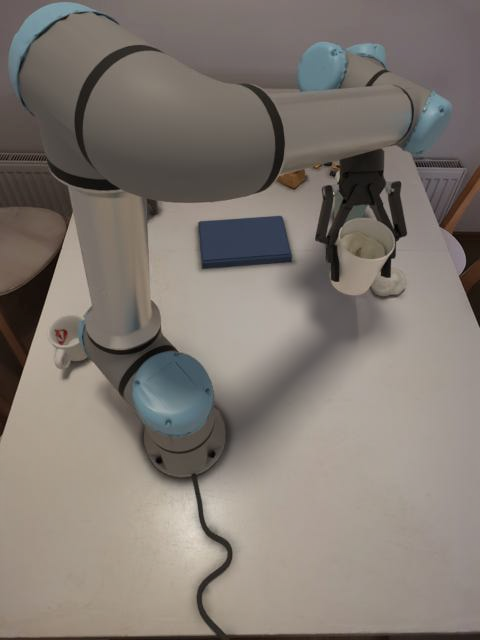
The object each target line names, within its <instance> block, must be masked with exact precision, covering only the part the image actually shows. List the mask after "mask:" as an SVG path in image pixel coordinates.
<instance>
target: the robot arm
mask: <svg viewBox="0 0 480 640" xmlns="http://www.w3.org/2000/svg"><path fill="white" fill-rule="evenodd" d="M7 61H8V62H7V64H8V65H7V69H8V74H9V75H8V77H9V80H10V83H11V87H12V90H13V91H14V93H15V95H16V96H17V99H18V100H19V103H20V104H21V106H22V107H23V108H24V110H25V111H26V112H27V113H29V114H30V115H31V116H32V117H33V118H35V121H36V122H37V125H38V130H39V134H40V138H41V143H42V146H43V152H44V154H45V160H46V163H47V167H48V170H49V172H50V174H51V175H52V176H53V177H54V178H55V179H56V180H57V181H59V182H60V183H62V185H65V186H67V188H68V193H69V199H70V204H71V209H72V213H73V219H74V223H75V228H76V234H77V238H78V243H79V249H80V253H81V257H82V262H83V263H82V264H83V268H84V273H85V277H86V283H87V288H88V293H89V298H90V303H91V306H90V307H89V308H88V309H87V310H86V311H85V312H84V314H83V317H84V320H82V321H81V322H80V324H79V328H78V339H79V342H80V344H81V346H82V348H83V350H84V352H85V354H86V355H87V358H88V359H89V360H90V361H91V362H92V363H93V364H94V365H95V366H96V368H97V369H98V370H99V372H101V373H102V374H103V376H104V378H106V380H108V382H109V383H110V384H111V385H112V387H113V388H114V389H115V391H117V393H118V394H119V395H120V396H121V398H122V399H123V400H124V401H125V402H126V404H127V405H128V406H129V408H131V410H132V411H133V412H134V414H135V415H136V416H137V417H138V419H139V420H140V421H141V423H142V424H143V425H144V430H143V445H144V450H145V452H146V454H147V456H148V458H149V460H150V461H151V463H152V464H153V466H155V467H156V468H157V469H158V470H159V471H160V472H162V473H164V474H165V475H168V476H171V477H174V478H180V479H181V478H182V479H186V478H191V479H192V485H193V490H194V494H195V499H196V504H197V512H198V513H197V515H198V520H199V523H200V527H201V528H202V530H203V532H204V533H205V534H206V535H207V536H208V537H209V538H210V539H212V540H214V541H216V542H218V543H220V544H222V545H223V546H224V547H225V549H226V551H227V553H226V554H227V555H226V556H227V557H226V558H225V561H224V562H223V564H222V565H220V566H219V567H218V568H217V569H215V570H213V572H211V573H210V574H209V575H207V576H206V577H205V578H204V579H202V580H201V582H200V584H199V586H198V588H197V591H196V605H197V609H198V612H199V614H200V616H201V618H202V620H203V621H204V622H205V623H206V624H207V626H208V627H209V628H210V629H211V630H212V631H213V632H214V633H215V634H216V635H217V636H218V637H219V638H220V639H221V640H231V638H230V637H229V635H227V634H226V632H224V631H223V630H222V629H221V628H220V626H219V625H218V624H217V623H215V621H214V620H213V619H211V617H210V616H209V614H208V613H207V611H206V610H205V607H204V605H203V592H204V589H205V587H206V586H207V585H208V584H209V583H210V582H212V581H213V580H214V579H215V578H217V577H218V576H219V575H221V574H222V573H223V572H224V571H226V569H228V567H229V566H230V564H231V563H232V559H233V548H232V545H231V544H230V542H229V541H228V540H227V539H226V538H224V537H222V536H220V535H218V534H216V533H215V532H213V531H212V530H211V529H210V528H209V526H208V525H207V523H206V520H205V515H204V508H203V507H204V506H203V500H202V495H201V491H200V487H199V482H198V478H197V477H198V476H199V475H201V474H203V473H205V472H206V471H208V470H209V469H211V468H212V467H213V466H214V465H215V464H216V463H217V461H218V460H219V459H220V457H221V455H222V453H223V451H224V449H225V444H226V439H227V432H226V424H225V420H224V417H223V416H222V413H221V412H220V410H219V409H218V408H217V407H216V405H215V390H214V386H213V383H212V379H211V378H210V375H209V373H208V371H207V370H206V369H205V367H204V366H203V364H202V363H201V362H200V361H199V360H198V359H196V358H195V357H194V356H191V355H189V354H187V353H185V352H180V351H179V350H178V349H177V348H176V347H175V346H174V345H173V344H172V343H171V342H170V340H168V338H167V337H166V336H165V335H164V334H163V332H162V317H161V316H162V315H161V311H160V308H159V307H158V305H157V304H156V303H155V301H153V300H152V299H151V297H152V296H151V279H150V277H151V276H150V275H151V274H150V254H149V253H150V252H149V251H150V250H149V229H148V227H149V226H148V205H147V204H148V203H147V202H146V198H147V199H151V200H155V201H157V202H164V203H172V204H174V203H176V204H177V203H178V204H181V203H182V204H198V203H199V204H200V203H217V202H226V201H230V200H236V199H240V198H246V197H249V196H252V195H255V194H259V193H262V192H264V191H266V190H268V189H269V188H271V187H272V186H273V185H274V184H275V183H276V182H277V179H278V177H279V176H280V175H284V174H288V173H292V172H295V171H299V170H303V169H305V170H307V169H310V168H315V167H314V166H318V165H320V166H322V165H326V164H325V163H329V162H332V163H333V162H336V161H338V162H339V164H338V165H339V173H340V178H339V181H338V183H337V184H336V183H335V184H326V185H323V186H322V187H321V194H322V195H321V196H322V201H321V207H320V212H319V217H318V221H317V226H316V231H315V237H314V241H315V242H317V243H320V244H323V245H324V247H325V262H326V263H327V264H330V270H331V280H332V281H334V282H339V258H338V252H337V245H336V243H337V240H338V234H339V231H340V228H341V227H343V225H344V223H345V221H346V219H347V216H348V214H349V212H350V211H351V210H352V208H353V206H358V205H368V207H369V208H370V209H371V211H372V213H373V215H374V217H375V220H377V221H379V222H381V223H383V224H384V225H386V226H387V227H388V228H389V229H390V230H391V232H392V233H393V235H394V238H395V247H394V250H393V252H392V253H391V254H390V256H389V257H388V259H387V261H386V262H385V264H384V266H383V267H382V269H381V276H382V277H385V278H391V268H392V260H394V259H396V257H397V242H398V241H399V240H400V239H402V238H405V237H406V236H408V229H407V224H406V219H405V214H404V209H403V208H404V207H403V203H402V202H403V201H402V198H401V192H402V191H401V190H402V182H401V181H400V180H397V181H396V180H395V181H388V180H386V178H385V176H384V172H385V150H384V149H385V148H389V147H394V146H396V147H399V148H400V149H401V150H402V151H403V152H407V153H409V154H411V155H414V156H417V157H418V156H423V155H425V154H427V153H428V152H429V151H430V150H432V149H433V148H434V146H436V144H437V143H438V142H439V140H440V139H441V137H442V136H443V135H444V133H445V131H446V129H447V127H448V126H449V124H450V122H451V118H452V115H453V105H452V103H451V101H449V100H448V99H446V98H444V97H443V96H442V95H439V93H436V91H435V90H433V89H432V90H430V89H427V88H425V87H423V86H421V85H419V84H416V83H414V82H413V81H410V80H408V79H406V78H405V77H402V76H400V75H398V74H395V73H394V72H392V71H390V70H388V67H387V53H386V49H385V47H384V46H382V45H381V44H379V43H372V42H368V43H367V42H366V43H359V44H358V43H357V44H355V45H352V46H349V47H347V48H345V47H344V46H342V45H339V44H338V43H333V42H329V41H319V42H316V43H314V44H312V45H311V46H310V47H308V48H307V50H306V51H305V52H304V53H303V54H302V56H301V57H300V60H299V62H298V65H297V69H296V83H297V87H298V90H299V91H295V92H283V93H270V94H269V92H267V90H265V89H264V88H262V87H260V86H259V85H256V84H253V83H228V82H223V81H220V80H218V79H215V78H212V77H210V76H208V75H205V74H203V73H201V72H199V71H196V70H194V69H192V68H191V67H189V66H187V65H185V64H184V63H182V62H180V61H179V60H177V59H176V58H174V57H172V56H170V55H168V54H167V53H165V52H164V51H162V50H161V49H159V48H157V47H156V46H154V45H152V44H150V43H149V42H148V41H145V40H144V39H143V38H141V37H139V36H138V35H136V34H134V33H133V32H131V31H129V30H128V29H126V28H125V27H123V26H122V25H121V24H120V23H119V22H118V21H117V20H116V19H115V18H113V17H112V16H111V15H109V14H107V13H105V12H103V11H99V10H95V9H92V8H91V7H88V6H86V5H84V4H81V3H77V2H73V1H72V2H70V1H62V2H61V1H60V2H54V3H49V4H46V5H44V6H42V7H40V8H38V9H37V10H35V11H34V12H33V13H31V14H30V15H29V16H28V17H27V18H25V20H24V21H23V23H22V25H21V26H20V27H19V30H18V31H17V32H16V33H15V34H14V36H13V38H12V41H11V44H10V47H9V51H8V60H7ZM321 164H322V165H321ZM384 189H385V190H384ZM337 191H339V192H340V194H341V195H342V197H343V200H342V202H341V204H340V208H339V211H338V213H337V215H336V217H335V219H334V218H333V222H332V224H331V226H330V229H329V224H330V219H331V214H332V210H333V206H334V198H335V196H336V192H337ZM383 191H385V193H386V194H387V201H388V206H389V211H390V215H391V219H390V216H389V214H388V213H387V211H386V209H385V207H384V201H383V200H382V198H381V194H382V192H383ZM391 221H392V222H391ZM328 229H329V231H328Z"/></svg>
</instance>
